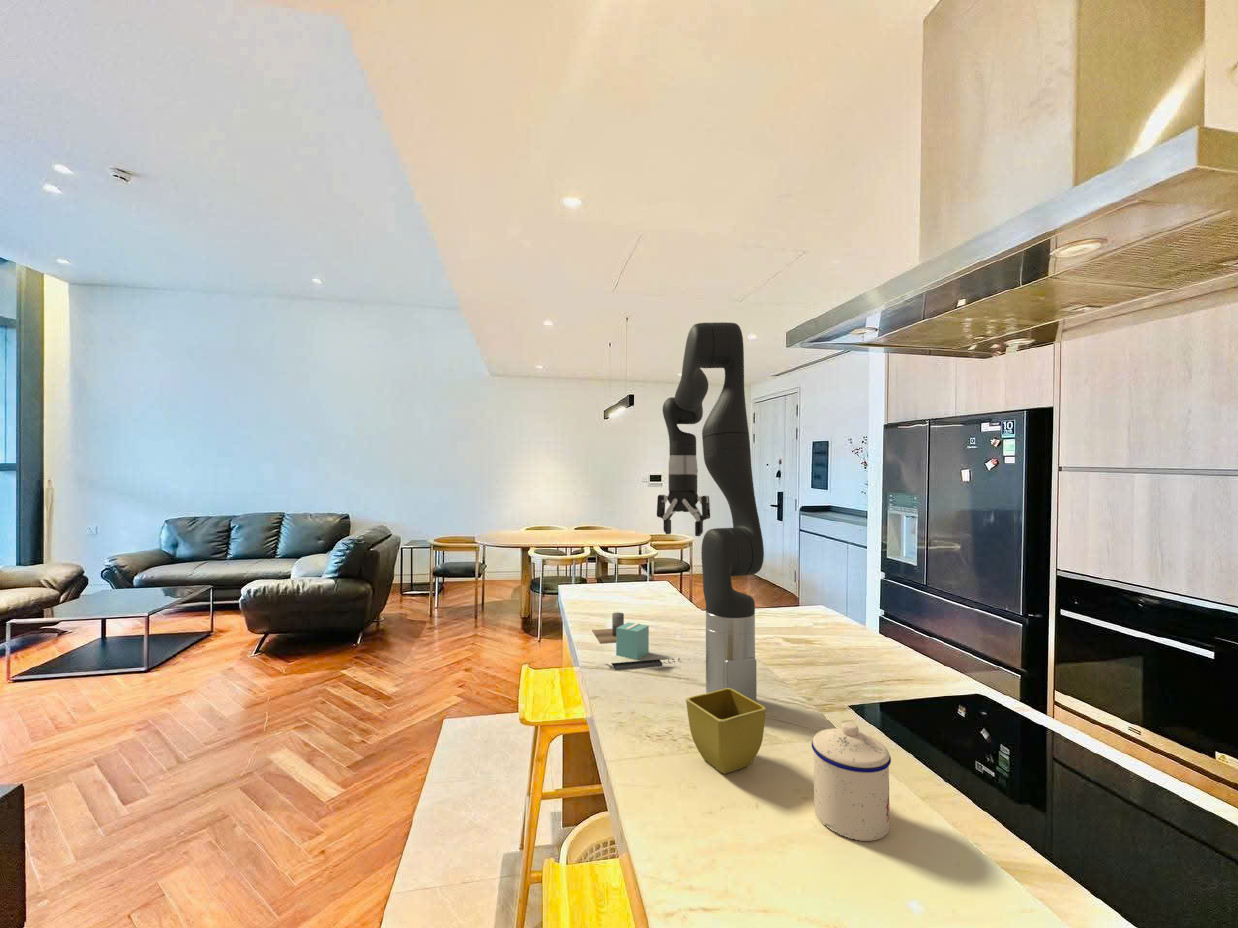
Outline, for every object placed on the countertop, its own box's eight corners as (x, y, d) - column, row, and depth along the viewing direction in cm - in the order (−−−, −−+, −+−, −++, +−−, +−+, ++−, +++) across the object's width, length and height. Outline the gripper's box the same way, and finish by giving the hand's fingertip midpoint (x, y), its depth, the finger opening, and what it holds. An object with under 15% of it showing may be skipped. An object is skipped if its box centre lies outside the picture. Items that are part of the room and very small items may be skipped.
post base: (646, 646, 132) (646, 618, 132) (600, 649, 129) (600, 621, 129) (633, 632, 143) (634, 607, 144) (591, 635, 141) (591, 609, 141)
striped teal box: (637, 662, 118) (637, 630, 118) (616, 658, 121) (616, 626, 121) (648, 655, 122) (648, 624, 123) (628, 651, 125) (628, 621, 126)
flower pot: (720, 786, 71) (720, 720, 72) (684, 756, 79) (684, 697, 80) (768, 770, 76) (767, 707, 76) (729, 743, 83) (729, 686, 84)
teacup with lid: (908, 842, 61) (907, 741, 61) (834, 846, 60) (833, 744, 60) (853, 782, 72) (852, 698, 73) (791, 785, 72) (790, 700, 72)
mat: (662, 666, 118) (662, 662, 118) (615, 670, 115) (615, 666, 115) (648, 650, 128) (648, 647, 128) (605, 653, 126) (605, 650, 126)
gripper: (652, 473, 136) (652, 534, 135) (702, 472, 129) (703, 538, 128) (664, 473, 142) (664, 532, 142) (713, 473, 135) (714, 535, 134)
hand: (682, 534), depth 135 cm, fingers open, 8 cm apart
